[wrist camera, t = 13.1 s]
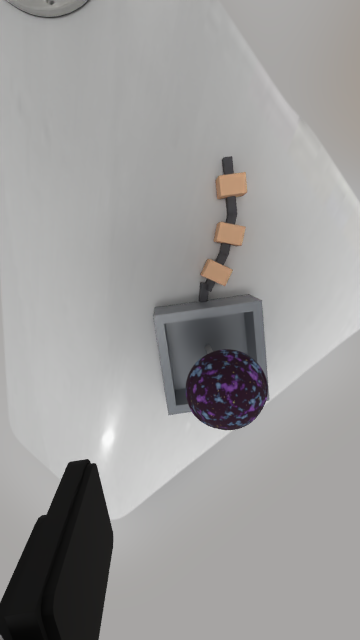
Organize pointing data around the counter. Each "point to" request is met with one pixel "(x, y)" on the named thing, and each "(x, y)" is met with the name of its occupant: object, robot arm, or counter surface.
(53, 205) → the counter surface
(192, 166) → the counter surface
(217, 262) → the cable run
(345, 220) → the counter surface
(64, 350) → the counter surface
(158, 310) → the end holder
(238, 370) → the lollipop
